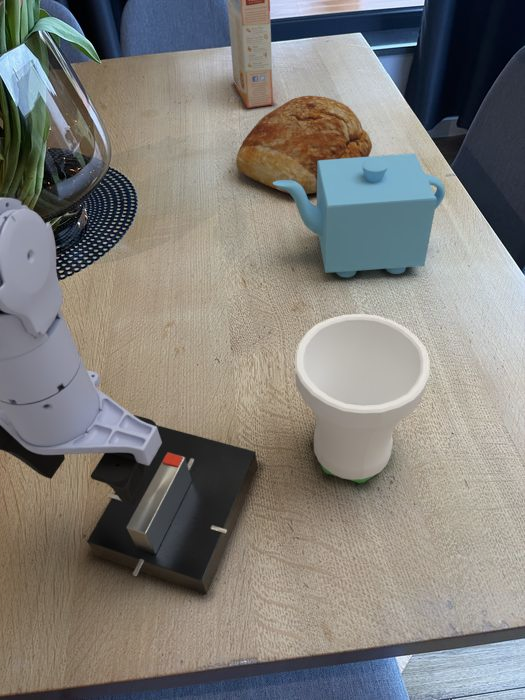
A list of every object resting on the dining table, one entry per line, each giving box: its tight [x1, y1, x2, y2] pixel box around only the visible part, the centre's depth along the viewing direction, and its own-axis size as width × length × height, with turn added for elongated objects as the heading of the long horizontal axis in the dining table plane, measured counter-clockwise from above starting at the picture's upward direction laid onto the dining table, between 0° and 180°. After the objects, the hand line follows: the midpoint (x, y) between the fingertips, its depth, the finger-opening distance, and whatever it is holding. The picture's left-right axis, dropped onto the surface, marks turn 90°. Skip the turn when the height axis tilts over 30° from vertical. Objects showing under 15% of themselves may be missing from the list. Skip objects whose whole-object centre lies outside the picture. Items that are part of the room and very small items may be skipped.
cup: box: [294, 313, 431, 484], centre depth 51 cm, size 11×11×14 cm
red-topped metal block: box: [127, 452, 192, 554], centre depth 48 cm, size 8×2×4 cm, turn 160°
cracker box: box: [226, 0, 274, 109], centre depth 111 cm, size 14×6×21 cm, turn 13°
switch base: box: [86, 424, 258, 595], centre depth 52 cm, size 14×12×3 cm
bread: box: [236, 95, 373, 195], centre depth 92 cm, size 20×18×10 cm
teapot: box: [273, 153, 446, 278], centre depth 74 cm, size 22×11×14 cm, turn 92°
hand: (94, 480), depth 45 cm, fingers open, 7 cm apart
